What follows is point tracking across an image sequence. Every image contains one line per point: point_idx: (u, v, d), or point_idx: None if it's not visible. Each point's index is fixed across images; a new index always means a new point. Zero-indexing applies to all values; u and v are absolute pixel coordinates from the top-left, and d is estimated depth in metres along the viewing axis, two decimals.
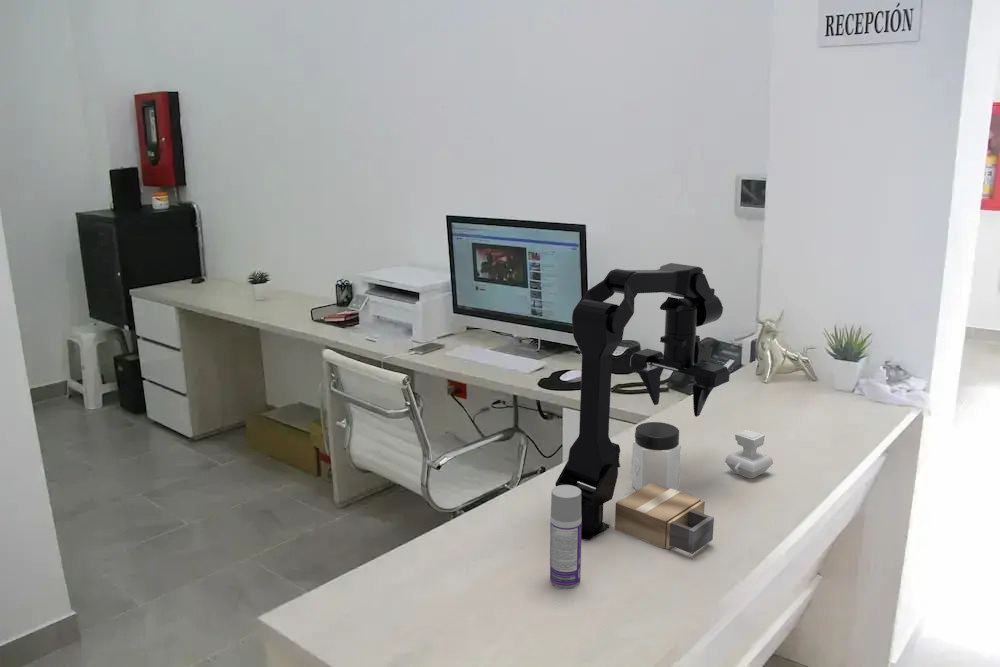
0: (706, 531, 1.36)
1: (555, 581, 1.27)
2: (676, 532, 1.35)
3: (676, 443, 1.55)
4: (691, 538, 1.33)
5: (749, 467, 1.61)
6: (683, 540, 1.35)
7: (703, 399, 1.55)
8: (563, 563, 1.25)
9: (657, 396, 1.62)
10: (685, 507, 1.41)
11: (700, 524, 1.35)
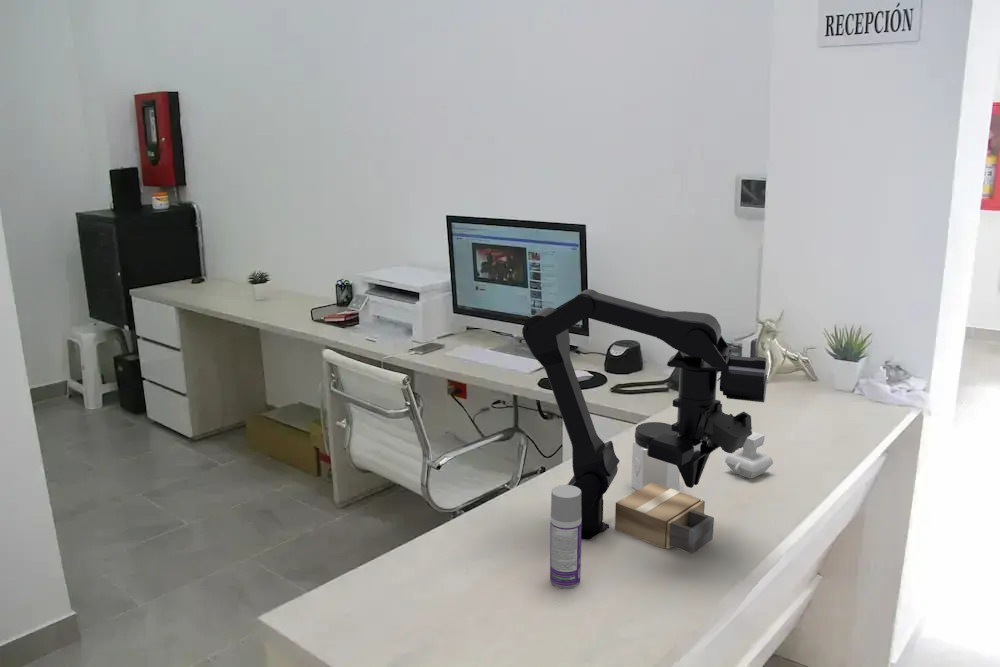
0: (706, 531, 1.36)
1: (555, 581, 1.27)
2: (676, 532, 1.35)
3: None
4: (691, 538, 1.33)
5: (749, 467, 1.61)
6: (683, 540, 1.35)
7: (686, 468, 1.33)
8: (563, 563, 1.25)
9: None
10: (685, 507, 1.41)
11: (700, 524, 1.35)
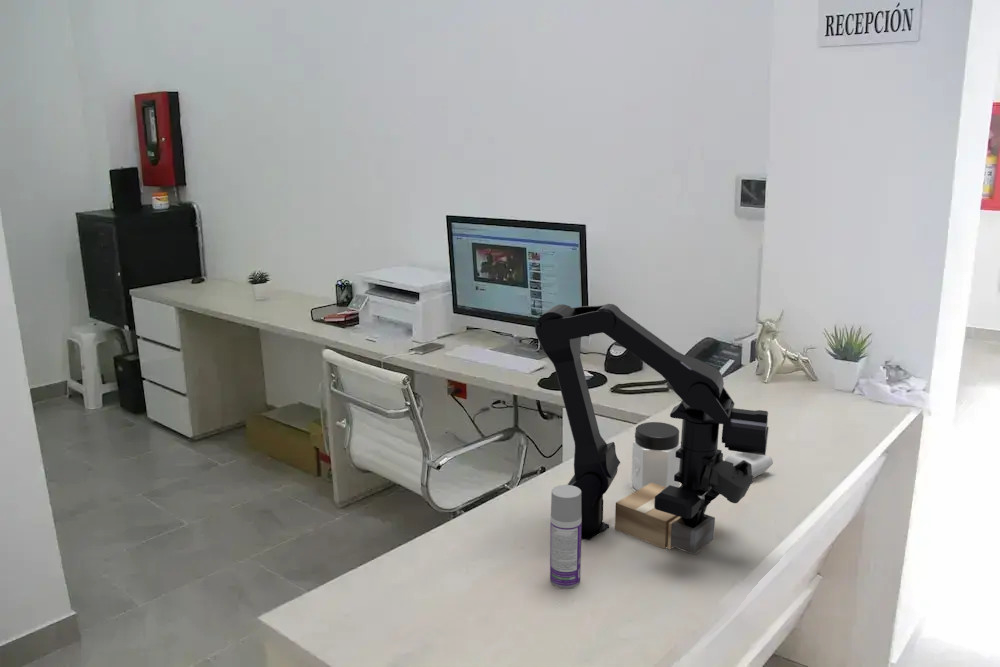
0: (707, 531, 1.36)
1: (555, 581, 1.27)
2: (678, 532, 1.35)
3: (676, 443, 1.55)
4: (693, 538, 1.33)
5: None
6: (685, 540, 1.34)
7: None
8: (563, 563, 1.25)
9: None
10: None
11: (701, 524, 1.35)
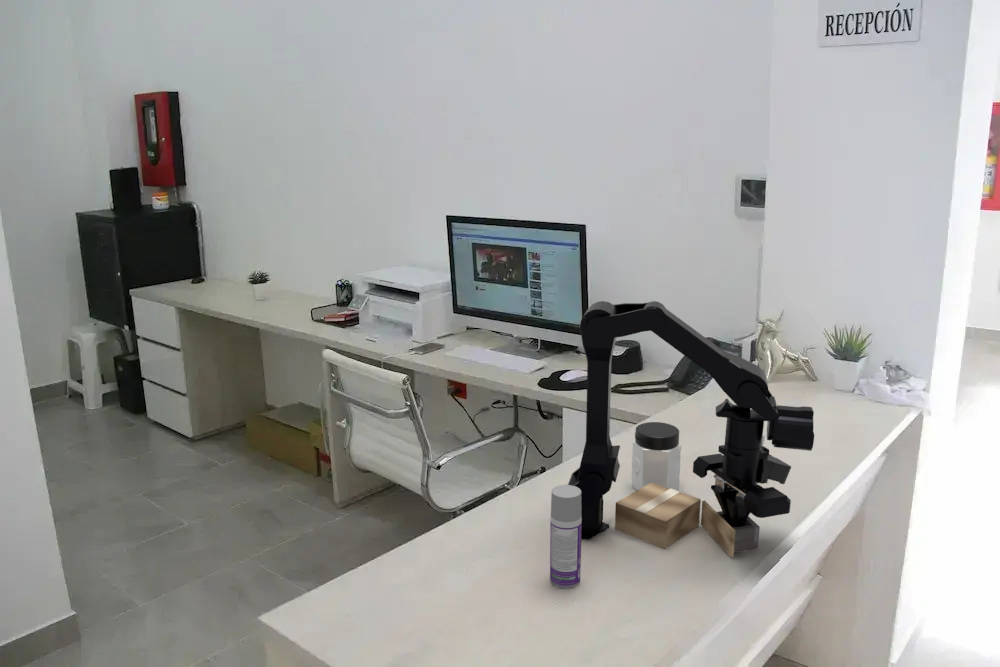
0: None
1: (555, 581, 1.27)
2: (741, 536, 1.34)
3: (676, 443, 1.55)
4: (757, 534, 1.34)
5: None
6: (748, 540, 1.34)
7: (742, 516, 1.35)
8: (563, 563, 1.25)
9: None
10: (685, 507, 1.41)
11: (748, 519, 1.37)
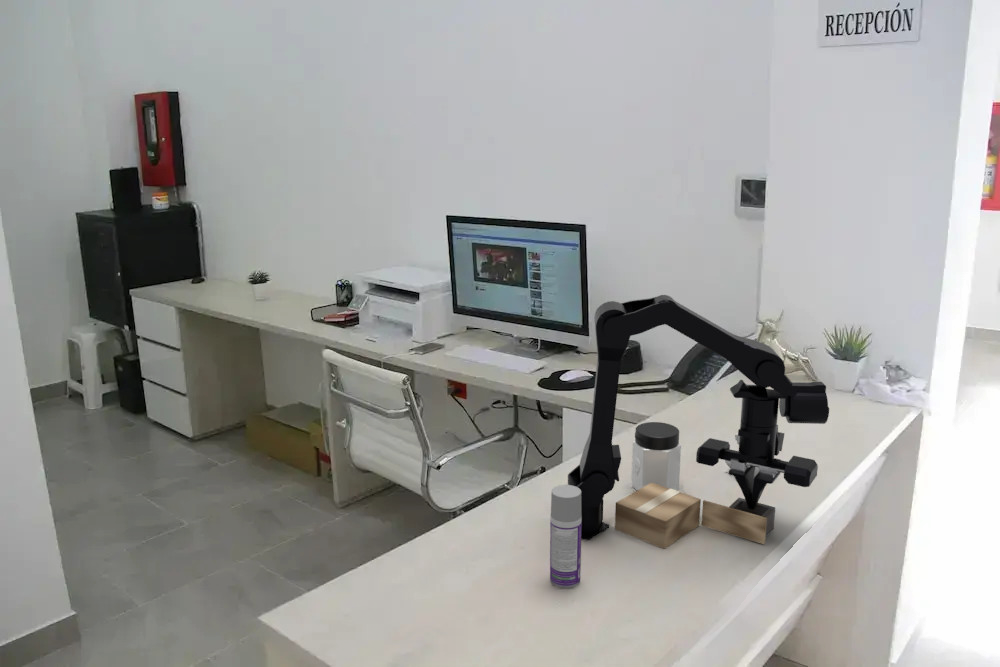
0: None
1: (555, 581, 1.27)
2: (768, 521, 1.39)
3: (676, 443, 1.55)
4: (774, 515, 1.41)
5: None
6: (770, 523, 1.40)
7: (761, 490, 1.39)
8: (563, 563, 1.25)
9: None
10: (685, 507, 1.41)
11: (758, 503, 1.42)
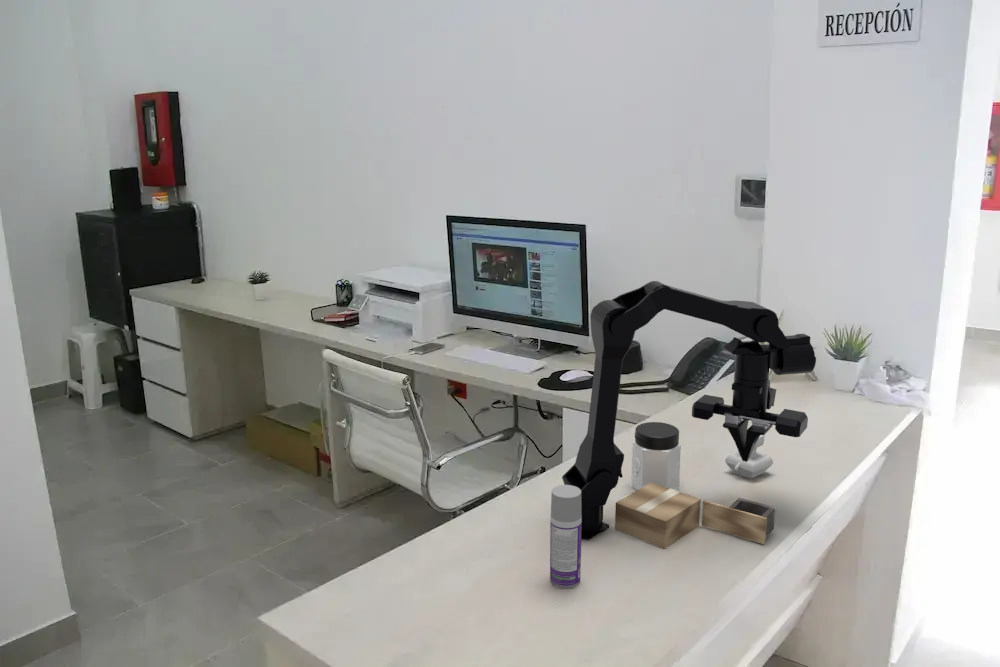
0: None
1: (555, 581, 1.27)
2: (768, 521, 1.39)
3: (676, 443, 1.55)
4: (774, 515, 1.41)
5: (749, 467, 1.61)
6: (770, 523, 1.40)
7: (754, 443, 1.46)
8: (563, 563, 1.25)
9: None
10: (685, 507, 1.41)
11: (758, 503, 1.42)
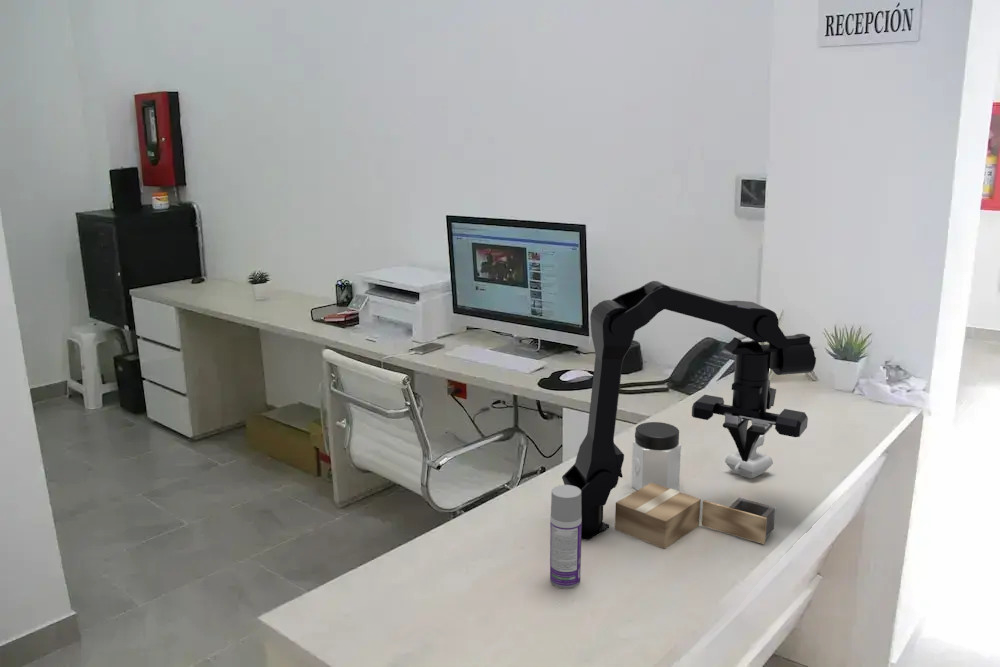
0: None
1: (555, 581, 1.27)
2: (768, 521, 1.39)
3: (676, 443, 1.55)
4: (774, 515, 1.41)
5: (749, 467, 1.61)
6: (770, 523, 1.40)
7: (754, 443, 1.46)
8: (563, 563, 1.25)
9: None
10: (685, 507, 1.41)
11: (758, 503, 1.42)
